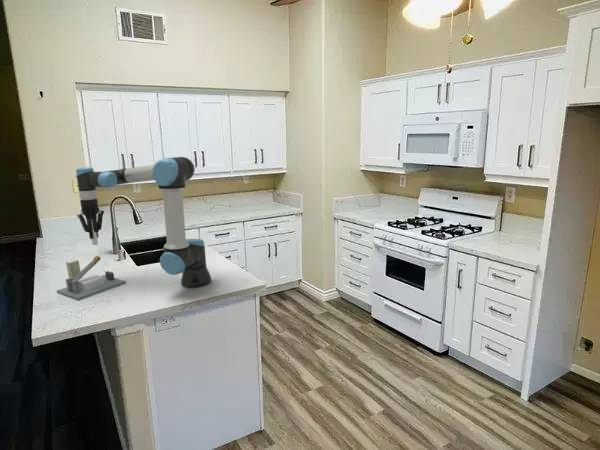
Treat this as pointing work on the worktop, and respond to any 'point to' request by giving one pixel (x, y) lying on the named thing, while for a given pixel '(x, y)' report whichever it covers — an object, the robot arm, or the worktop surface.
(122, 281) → the clamp base
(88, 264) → the lever handle
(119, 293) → the worktop surface
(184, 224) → the robot arm
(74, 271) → the box
